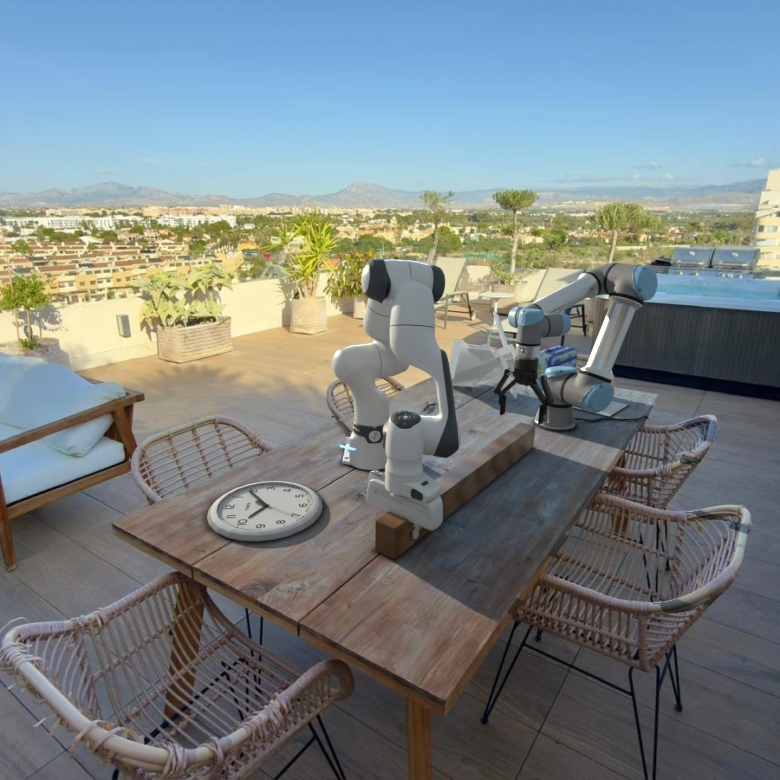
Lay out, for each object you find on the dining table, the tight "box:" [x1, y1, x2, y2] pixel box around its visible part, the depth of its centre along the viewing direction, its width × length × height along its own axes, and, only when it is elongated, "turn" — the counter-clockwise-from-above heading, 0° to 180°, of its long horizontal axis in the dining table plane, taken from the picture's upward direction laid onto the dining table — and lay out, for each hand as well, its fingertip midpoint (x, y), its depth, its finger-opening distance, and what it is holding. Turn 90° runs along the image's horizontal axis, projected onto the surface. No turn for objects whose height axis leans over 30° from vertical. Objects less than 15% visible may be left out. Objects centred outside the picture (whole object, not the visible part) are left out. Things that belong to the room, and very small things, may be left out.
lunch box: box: [536, 345, 578, 391], centre depth 244 cm, size 26×11×21 cm, turn 135°
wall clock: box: [206, 480, 324, 543], centre depth 140 cm, size 30×2×30 cm
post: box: [374, 422, 536, 560], centre depth 152 cm, size 82×6×8 cm, turn 143°
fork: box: [422, 395, 437, 412], centre depth 223 cm, size 3×16×2 cm, turn 160°
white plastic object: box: [448, 310, 531, 400], centre depth 245 cm, size 37×45×31 cm
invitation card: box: [573, 400, 629, 418], centre depth 226 cm, size 21×1×15 cm
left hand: (402, 532), depth 126 cm, fingers closed on post, 5 cm apart
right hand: (520, 418), depth 176 cm, fingers open, 13 cm apart
